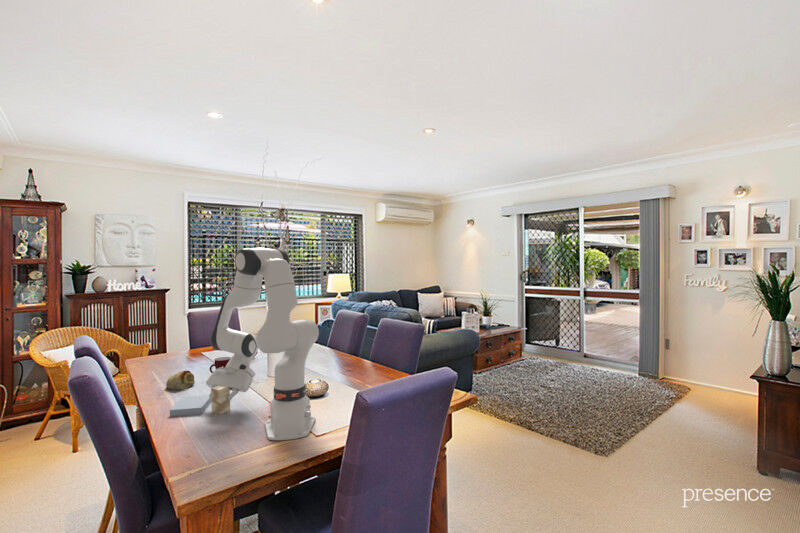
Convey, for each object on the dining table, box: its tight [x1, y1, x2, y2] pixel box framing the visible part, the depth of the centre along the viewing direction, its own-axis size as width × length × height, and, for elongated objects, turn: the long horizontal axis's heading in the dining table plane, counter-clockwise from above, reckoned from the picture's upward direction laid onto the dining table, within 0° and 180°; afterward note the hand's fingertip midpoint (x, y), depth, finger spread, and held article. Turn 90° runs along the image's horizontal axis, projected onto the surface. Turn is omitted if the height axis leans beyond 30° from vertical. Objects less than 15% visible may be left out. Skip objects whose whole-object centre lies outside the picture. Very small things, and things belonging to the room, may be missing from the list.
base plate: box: [169, 394, 211, 417], centre depth 171 cm, size 16×12×3 cm
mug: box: [209, 356, 232, 374], centre depth 214 cm, size 10×8×10 cm
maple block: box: [210, 386, 231, 415], centre depth 167 cm, size 5×5×10 cm
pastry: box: [165, 370, 196, 391], centre depth 201 cm, size 14×12×8 cm
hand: (219, 398), depth 166 cm, fingers open, 8 cm apart
